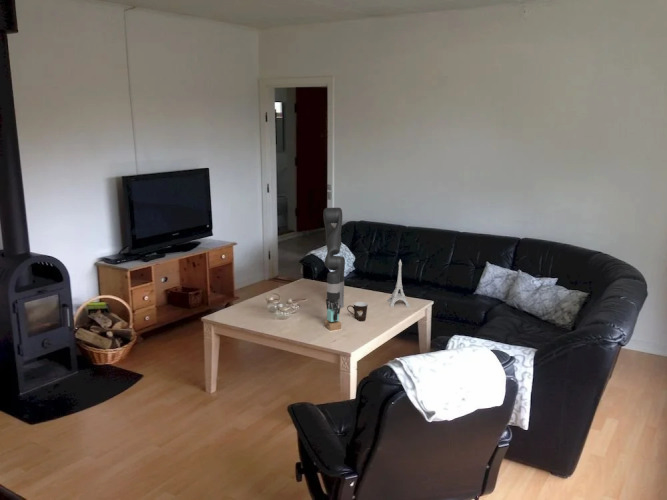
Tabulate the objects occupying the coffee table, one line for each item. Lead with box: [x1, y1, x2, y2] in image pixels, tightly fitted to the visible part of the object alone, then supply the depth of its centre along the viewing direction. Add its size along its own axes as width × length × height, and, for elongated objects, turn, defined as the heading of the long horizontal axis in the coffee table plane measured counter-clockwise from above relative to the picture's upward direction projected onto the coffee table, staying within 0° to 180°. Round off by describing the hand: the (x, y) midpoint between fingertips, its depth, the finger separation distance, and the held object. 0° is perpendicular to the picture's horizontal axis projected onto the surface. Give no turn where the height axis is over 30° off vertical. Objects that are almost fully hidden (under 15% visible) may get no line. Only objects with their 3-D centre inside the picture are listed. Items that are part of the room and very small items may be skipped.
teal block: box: [326, 308, 340, 322], centre depth 343 cm, size 5×5×6 cm
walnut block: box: [324, 319, 342, 332], centre depth 344 cm, size 7×7×4 cm
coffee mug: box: [347, 301, 369, 322], centre depth 364 cm, size 12×9×10 cm
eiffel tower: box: [386, 259, 411, 308], centre depth 393 cm, size 13×13×30 cm
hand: (332, 318), depth 343 cm, fingers closed on teal block, 5 cm apart
